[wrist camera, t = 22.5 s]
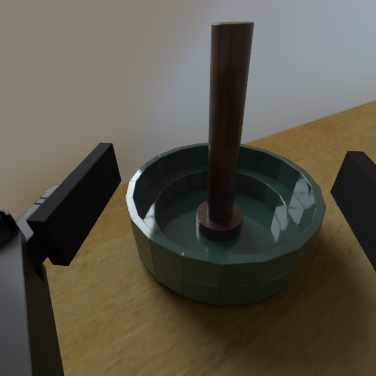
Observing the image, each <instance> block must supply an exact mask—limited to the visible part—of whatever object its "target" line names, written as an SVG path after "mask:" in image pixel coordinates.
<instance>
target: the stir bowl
mask: <svg viewBox="0 0 376 376" xmlns="http://www.w3.org/2000/svg"><path fill="white" fill-rule="evenodd" d="M208 146H209V143H199V144H193V145H188V146H183V147H179V148H175V149H172V150H170V151H167V152H165V153H162V154H160V155H158V156H156V157H154V158H153V159H151V160H150V161H148V162H147V163H146V164H144V165H143V166H142V167H140V169H139V170H138V171H137V172H136V174H135V175H134V176H133V177H132V179H131V180H130V182H129V186H128V190H127V194H126V198H125V201H126V205H127V209H128V213H129V217H130V221H131V225H132V229H133V233H134V238H135V241H136V245H137V249H138V252H139V256H140V259H141V261H142V262H143V263H144V265H145V266H146V267H147V268H148V270H149V271H150V272H151V274H152V275H153V276H154V277H155V279H156V280H157V281H159V282H161V283H162V284H164V285H165V286H167V287H169V288H170V289H172V290H174V291H175V292H177V293H178V294H180V295H182V296H183V297H186V298H190V299H194V300H198V301H203V302H207V303H211V304H215V305H232V304H246V303H255V302H257V301H260V300H262V299H264V298H267V297H269V296H271V295H273V294H276V293H278V292H280V291H283V290H284V289H285V288H286V287H287V286H288V285H289V284H290V283H291V282H292V281H293V280H294V279H295V278H296V277H297V276H298V274H299V273H300V272H301V271H302V270H303V267H304V265H305V263H306V260H307V258H308V256H309V254H310V251H311V249H312V247H313V245H314V242H315V240H316V238H317V235H318V233H319V231H320V229H321V225H322V221H323V217H324V213H325V210H326V205H325V202H324V199H323V196H322V192H321V189H320V187H319V186H318V184H317V183H316V182H315V181H314V180H313V179H312V177H311V176H310V175H309V174H308V173H307V172H306V171H305V170H304V169H302V168H301V167H299V166H298V165H296V164H295V163H293V162H292V161H290V160H289V159H287V158H285V157H282V156H280V155H278V154H275V153H273V152H270V151H268V150H265V149H261V148H257V147H253V146H248V145H244V144H240V152H239V161H238V169H237V178H236V187H235V196H234V203H235V204H237V205H238V206H239V207H240V208H241V210H242V212H243V223H242V229H241V231H240V233H239V234H238V235H237V236H236V237H234V238H232V239H230V240H225V241H216V240H212V239H209V238H207V237H205V236H204V235H202V234H201V233H200V232H199V230H198V228H197V225H196V211H197V209H198V207H199V206H200V205H201V204H202V203H203V202H205V201H207V187H208Z"/></svg>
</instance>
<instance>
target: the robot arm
mask: <svg viewBox="0 0 376 376" xmlns="http://www.w3.org/2000/svg"><path fill="white" fill-rule="evenodd" d="M120 182H121V177H120V173H119V169H118V165H117V161H116V157H115V153H114V148H113V144H112V143H100V144H99V145H98V146H97V147H96V148H95V149H94V150H93V151H92V152H91V153H90V154H89V155H88V156H87V157H86V158H85V159H84V160H83V161H82V162H81V163H80V164H79V165H78V167H77V168H76V169H75V170H74V171H73V172H72V173H71V174H70V175H69V176H68V177H67V178H66V179H65V180H64V181H63V182H62V183H61V184H60V185H55V186H54V187H52V188H50V189H48V190H47V191H46V192H45V193H44V194H43V195H42V196H41V197H40V199H38V200H37V201H36V202H35V203H34V204H33V205H32V206H31V207H30V208H29V209H28V210H27V211H26V212H25V213H24V214H23V215H22V216H21V217H20V218H19V219H18V220H17V221H16V222H15V220H14V219H13V217H12V216H11V214H10V213H9V211H7V210H5V209H0V376H64V371H63V365H62V360H61V354H60V348H59V343H58V337H57V331H56V326H55V320H54V314H53V309H52V303H51V297H50V291H49V286H48V280H47V274H46V269H45V266H44V265H43V262H44V261H45V259H46V258H47V256H48V258H49V259H50V261H51V263H52V264H53V265H62V266H69V265H70V263H71V261H72V260H73V258H74V257H75V255H76V253H77V252H78V250H79V248H80V247H81V245H82V244H83V242H84V240H85V239H86V237H87V236H88V234H89V232H90V231H91V229H92V228H93V226H94V224H95V223H96V221H97V219H98V218H99V216H100V215H101V213H102V211H103V210H104V208H105V207H106V205H107V203H108V202H109V200H110V198H111V197H112V195H113V194H114V192H115V190H116V189H117V187H118V186H119V184H120ZM330 193H331V194H332V196H333V198H334V200H335V201H336V203H337V205H338V207H339V208H340V210H341V212H342V214H343V215H344V217H345V219H346V221H347V222H348V224H349V226H350V228H351V229H352V231H353V233H354V235H355V236H356V238H357V240H358V242H359V243H360V245H361V247H362V249H363V250H364V252H365V254H366V256H367V257H368V259H369V261H370V263H371V264H372V266H373V268H374V270H375V271H376V164H375V163H374V162H373V161H372V160H371V159H370V158H369V157H368V156H367V155H366V154H365V153H364V152H360V151H347V154H346V156H345V158H344V161H343V163H342V165H341V168H340V170H339V173H338V175H337V177H336V180H335V182H334V184H333V187H332V189H331V192H330Z"/></svg>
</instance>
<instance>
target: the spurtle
mask: <svg viewBox="0 0 376 376" xmlns="http://www.w3.org/2000/svg"><path fill="white" fill-rule="evenodd" d="M253 28H254V22H222V23H212V25H211V64H210V105H209V107H210V108H209V146H208V187H207V201H205V202H203V203H202V204H201V205H200V206H199V207H198V209H197V211H196V225H197V228H198V230H199V232H200V233H201V234H202V235H204V236H205V237H207V238H209V239H212V240H216V241H225V240H230V239H232V238H234V237H236V236H237V235H238V234H239V233H240V231H241V229H242V223H243V212H242V210H241V208H240V207H239V206H238V205H237V204H235V203H234V196H235V187H236V178H237V169H238V161H239V152H240V142H241V134H242V125H243V116H244V108H245V99H246V90H247V81H248V72H249V63H250V55H251V46H252V36H253Z"/></svg>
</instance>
